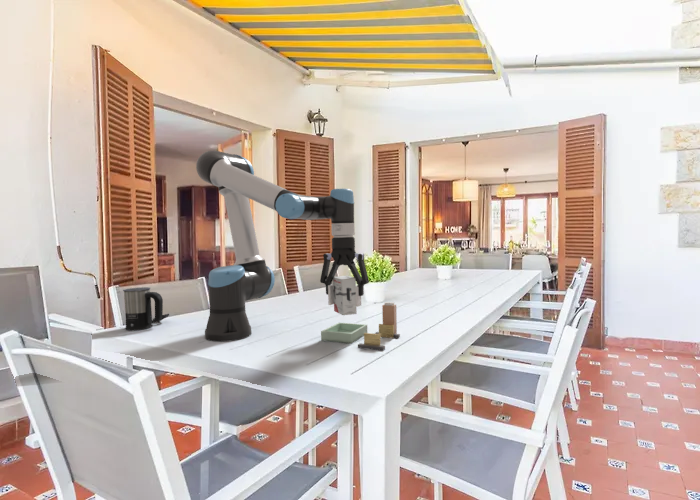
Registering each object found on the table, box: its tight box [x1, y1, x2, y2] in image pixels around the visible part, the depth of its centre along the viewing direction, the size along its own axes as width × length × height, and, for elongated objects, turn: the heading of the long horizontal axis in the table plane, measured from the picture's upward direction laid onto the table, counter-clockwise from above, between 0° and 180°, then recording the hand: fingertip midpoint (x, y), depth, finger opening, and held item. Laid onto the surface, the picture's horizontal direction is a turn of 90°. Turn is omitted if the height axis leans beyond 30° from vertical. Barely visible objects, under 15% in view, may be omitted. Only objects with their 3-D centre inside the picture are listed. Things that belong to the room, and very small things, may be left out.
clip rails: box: [363, 323, 395, 345], centre depth 133 cm, size 5×14×4 cm, turn 156°
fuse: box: [381, 301, 398, 334], centre depth 142 cm, size 4×3×11 cm, turn 66°
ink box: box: [332, 275, 357, 316], centre depth 140 cm, size 8×5×12 cm, turn 23°
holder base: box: [357, 331, 401, 351], centre depth 133 cm, size 8×16×1 cm, turn 156°
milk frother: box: [122, 286, 170, 331], centre depth 163 cm, size 14×16×15 cm
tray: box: [320, 322, 368, 344], centre depth 140 cm, size 11×14×3 cm
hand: (344, 305), depth 140 cm, fingers closed on ink box, 9 cm apart
